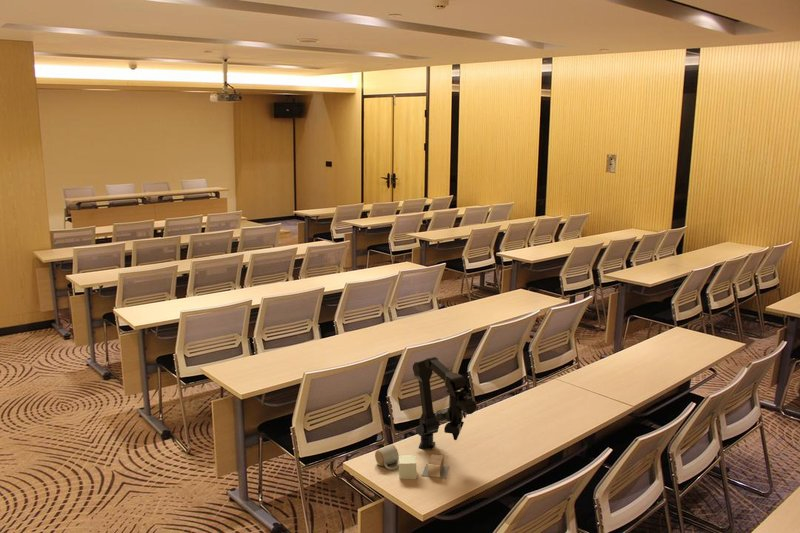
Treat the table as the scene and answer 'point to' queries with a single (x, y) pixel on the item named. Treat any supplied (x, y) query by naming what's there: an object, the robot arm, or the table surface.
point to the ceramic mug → (387, 456)
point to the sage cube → (407, 466)
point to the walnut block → (435, 465)
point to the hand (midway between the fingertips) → (455, 439)
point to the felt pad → (443, 473)
